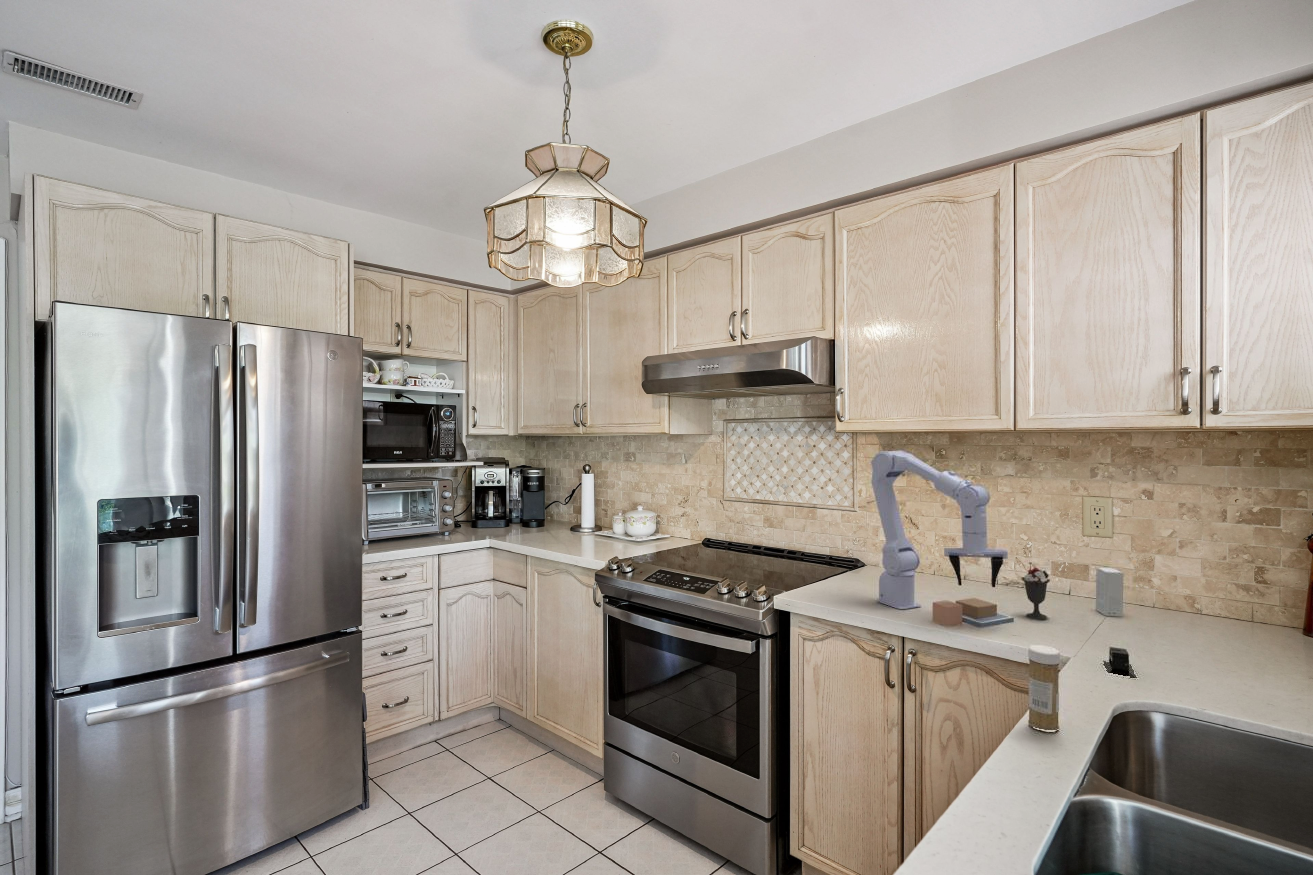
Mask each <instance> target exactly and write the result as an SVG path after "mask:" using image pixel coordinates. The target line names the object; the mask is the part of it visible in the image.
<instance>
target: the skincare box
mask: <svg viewBox="0 0 1313 875" xmlns="http://www.w3.org/2000/svg"><path fill="white" fill-rule="evenodd" d="M1095 569H1096V576H1095V577H1096V579H1095V581H1096V582H1095V584H1096V585H1095V586H1096V587H1095V611H1097V612H1099V613H1101V614H1102V615H1104V616H1106V617H1119V618H1122V617H1123V616H1124V614H1123V612H1124V572H1122V571H1120V570H1117V569H1115V568H1113V567H1096V568H1095Z"/></svg>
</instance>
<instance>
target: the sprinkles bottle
mask: <svg viewBox="0 0 1313 875" xmlns="http://www.w3.org/2000/svg"><path fill="white" fill-rule="evenodd" d="M1027 653H1028V654H1027V656H1028V661H1029V671H1028V706H1029V707H1028V721H1027V723H1029V724H1028V726H1030V725H1031V726H1032V727H1035V728H1039V729H1044V730H1057V729H1059V730H1060V726H1059V710H1060V693H1059V688H1060V687H1059V685H1060V684H1059V679H1060V678H1059V676H1060V675H1059V666H1060V662H1061V653H1060V651H1059V650H1058V649H1056V648H1054V647H1051V646H1048V645H1042V644H1041V645H1040V644H1032V645H1030V646H1029V647H1028V652H1027ZM1031 726H1030V727H1031ZM1032 727H1031V728H1032Z"/></svg>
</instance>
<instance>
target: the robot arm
mask: <svg viewBox="0 0 1313 875" xmlns="http://www.w3.org/2000/svg"><path fill="white" fill-rule="evenodd" d="M870 464H871V468H872V473H871V480H870V481H871V482H870V483H871V487H872V490H873V494H874V495H873V496H874V499H875V502H876V506H877V511H878V514H879V518H880V521H881V526H882V531H883V534H884V538H885V543H884V545H883V547H882V548H881V552H882V561H881V562H882V564H881V565H882V567H883V568H884V570H885V571H882V573H881V574H880V576H879V578H878V579H879V580H878V599H876V602H878V603H879V604H880V603H881V604H883V605H887V606H889V607H892V608H894V609H898V610H906V609H907V610H908V609H913V608H914V609H915V608H920V607H922V604H920V603H917V602H915V577H916V576H915V575H916V570H917V569H919V567H920V565H921V564H920V563H921V560H920V556H919V554H918V553H917V551H916V550H915V547H914V545H913V543H912V542H911V541H910V540H909V539H908V538H907V537H906V533H905V528H904V525H903V521H902V517H901V513H900V510H899V506H898V503H897V499H896V495H895V491H894V487H893V484H894V483H895V481H896V480H897V479H898V478H899V477H900V476H901V475H902V474H904V473H905V472H906V471H909V472H910V473H913V474H914V475H917V476H919V477H921V478H923V479H925V480H927V481H929V482H931V483H933V486H934V489H935V490H937V491H938V492H940V493H942V494H943V495H946V496H947V497H949V498H951V499H953V500H955V501H956V503H957V505H958V506H959V508H960V513H961V538H962V540H961V541H962V547H953V548H951V547H944V549H943V552H944V553H943V554H944V557H946V558H948V559H949V562H950V564H951V566H952V568H953V570H954V572H955V575H956V579H957V585H958V586H961V587H962V576H961V557H962V558H983V559H984V558H988V559H989V558H990V563H991V564H990V565H991V567H990V568H991V578H990V582H991V588H996V583H997V578H998V574H999V572H1000V570H1001V568H1002V566H1003V564H1004V560H1007V559H1009V555H1008V550H1007V549H993V548H992V549H991V548H988V528H987V527H988V526H987V505H988V504H989V502H990V498H991V495H990V492H989V490H988V489H987V488H986V487H984V486H983V485H982V484H974V485H973V482H972V481H971V480H965V479H963V478H961V477H959V476H957V475H956V474H957V472H955V471H953V470H944V471H939V470H937V469H936V468H934V467H932V466H931V465H929V464H927V463H926V462H924V461H922V460H921V459H919V458H917V457H916V456H914V454H912V453H908V452H907V451H905V450H902V449H901V450H892V451H891V450H888V451H886V450H880V451H878V452H876V454H875V455H874V456H873V457H872V460H871V461H870Z"/></svg>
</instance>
